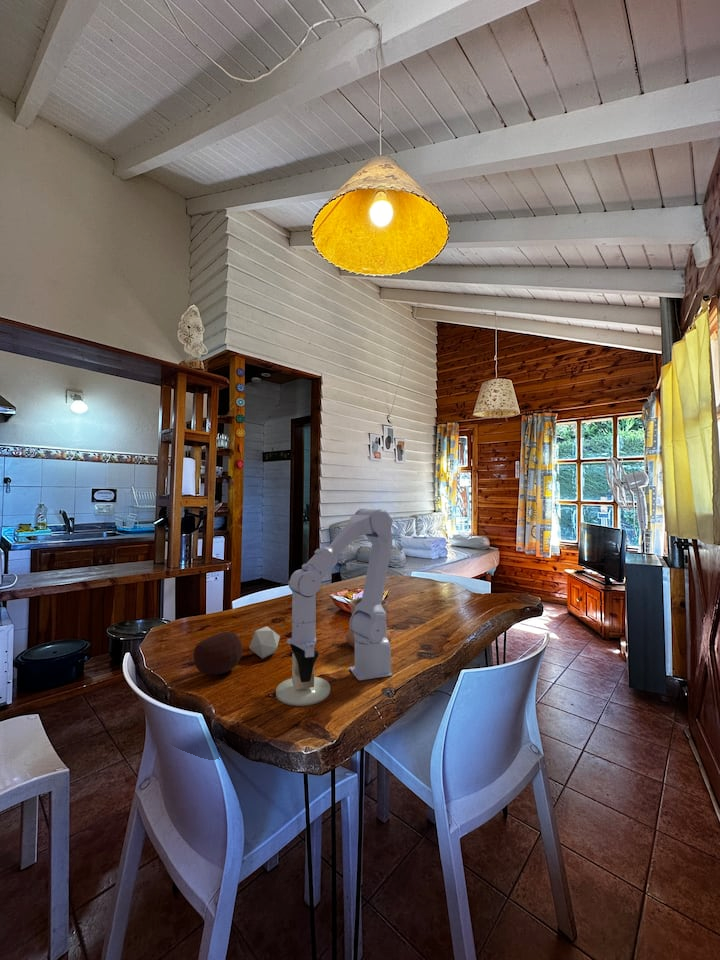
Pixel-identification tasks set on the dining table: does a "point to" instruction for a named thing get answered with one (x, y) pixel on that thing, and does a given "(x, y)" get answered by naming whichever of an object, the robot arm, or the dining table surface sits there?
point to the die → (264, 642)
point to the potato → (218, 653)
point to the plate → (302, 693)
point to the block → (296, 676)
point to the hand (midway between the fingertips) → (303, 676)
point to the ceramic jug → (353, 603)
